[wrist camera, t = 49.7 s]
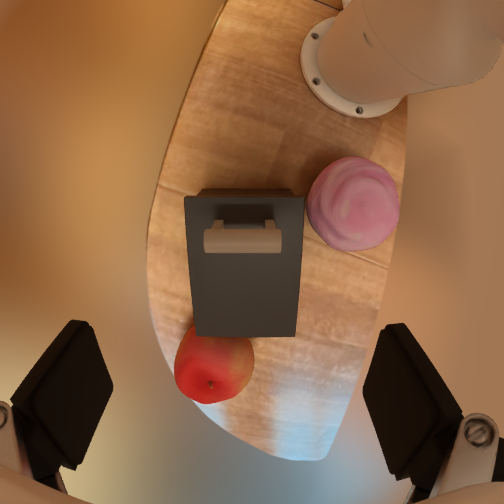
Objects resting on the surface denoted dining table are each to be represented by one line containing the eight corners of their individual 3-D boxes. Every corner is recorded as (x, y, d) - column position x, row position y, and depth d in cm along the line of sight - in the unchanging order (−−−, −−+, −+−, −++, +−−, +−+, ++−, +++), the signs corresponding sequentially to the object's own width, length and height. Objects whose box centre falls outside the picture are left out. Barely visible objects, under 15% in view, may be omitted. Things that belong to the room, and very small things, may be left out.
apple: (215, 370, 41) (208, 423, 32) (168, 329, 38) (148, 380, 29) (267, 339, 39) (271, 393, 30) (220, 291, 36) (210, 342, 27)
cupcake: (329, 138, 30) (361, 138, 20) (385, 185, 31) (430, 204, 22) (281, 202, 32) (294, 228, 23) (340, 244, 34) (370, 283, 25)
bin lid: (185, 195, 24) (166, 212, 18) (303, 195, 24) (319, 212, 18) (197, 331, 28) (187, 371, 23) (294, 332, 29) (302, 372, 23)
